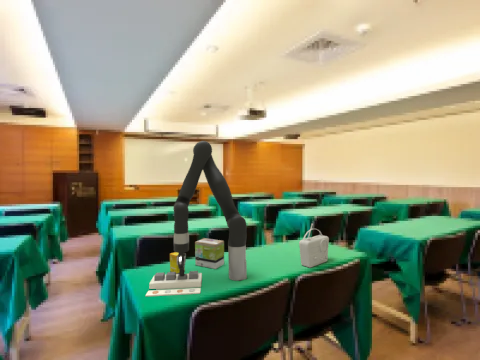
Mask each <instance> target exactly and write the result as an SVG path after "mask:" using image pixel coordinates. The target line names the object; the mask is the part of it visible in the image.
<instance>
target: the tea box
mask: <svg viewBox="0 0 480 360" xmlns="http://www.w3.org/2000/svg"><path fill="white" fill-rule="evenodd" d="M194 249H195V251H194V255H195V256H194V258H195V259H194V260H195V262H194V263H195V266H199V267H204V268H210V269H213V270H217V269H218V268H220V267H221V266H224V264H225V241H224V240H222V239H221V240H220V239H219V240H218V239H213V238H205V237H203V238H201V239H198V240H197V241H195V242H194Z"/></svg>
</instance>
